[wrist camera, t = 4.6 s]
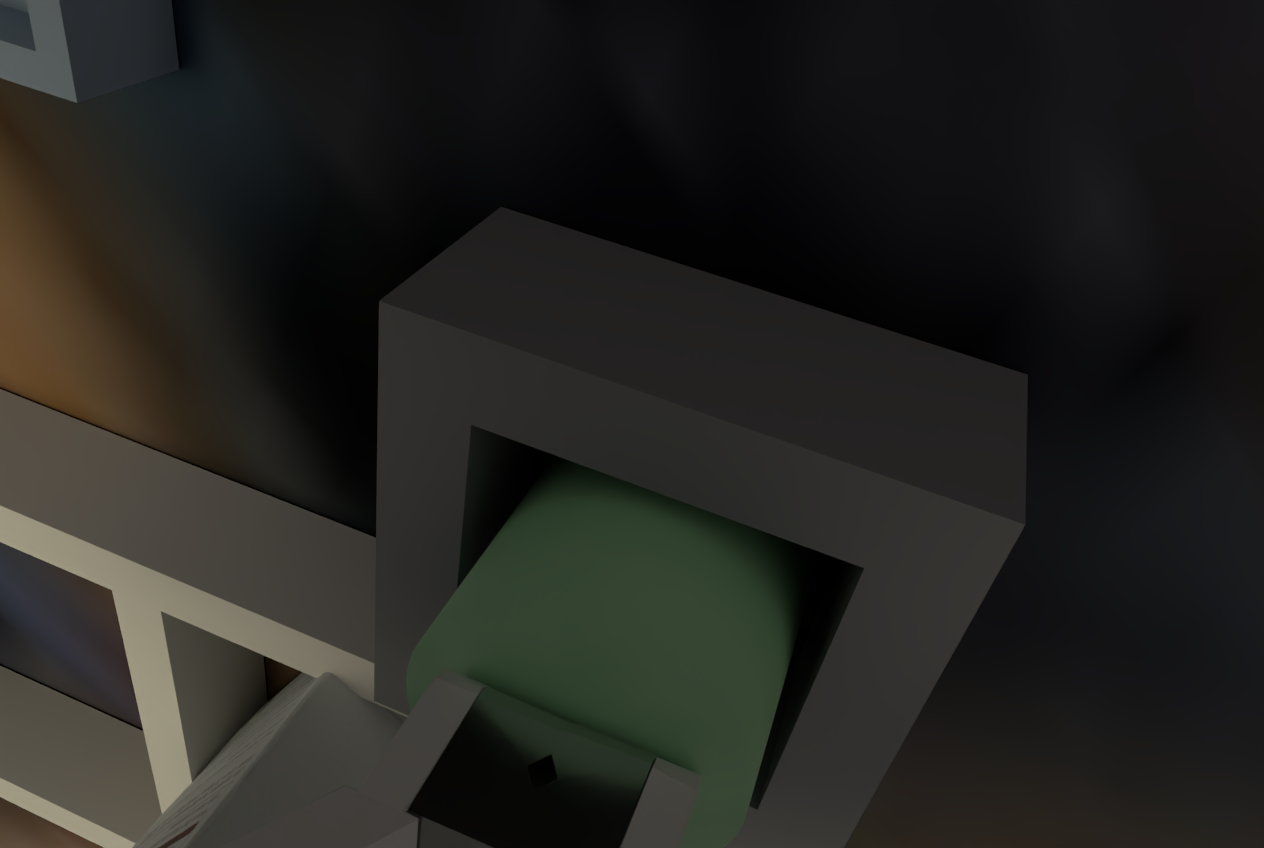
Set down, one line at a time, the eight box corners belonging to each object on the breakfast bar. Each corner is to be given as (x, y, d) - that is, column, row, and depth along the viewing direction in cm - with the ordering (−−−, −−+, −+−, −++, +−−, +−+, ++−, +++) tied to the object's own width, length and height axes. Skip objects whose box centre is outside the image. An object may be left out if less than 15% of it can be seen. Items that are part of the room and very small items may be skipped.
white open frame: (-71, 653, 26) (-157, 720, 24) (-213, 304, 20) (-347, 359, 18) (647, 985, 22) (611, 1095, 21) (763, 691, 16) (726, 812, 14)
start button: (566, 363, 13) (411, 552, 10) (859, 465, 12) (795, 704, 9) (534, 574, 15) (401, 780, 12) (777, 669, 14) (704, 915, 11)
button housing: (500, 206, 13) (379, 301, 10) (1027, 374, 12) (1024, 524, 9) (466, 573, 17) (373, 700, 15) (851, 726, 16) (818, 892, 13)
